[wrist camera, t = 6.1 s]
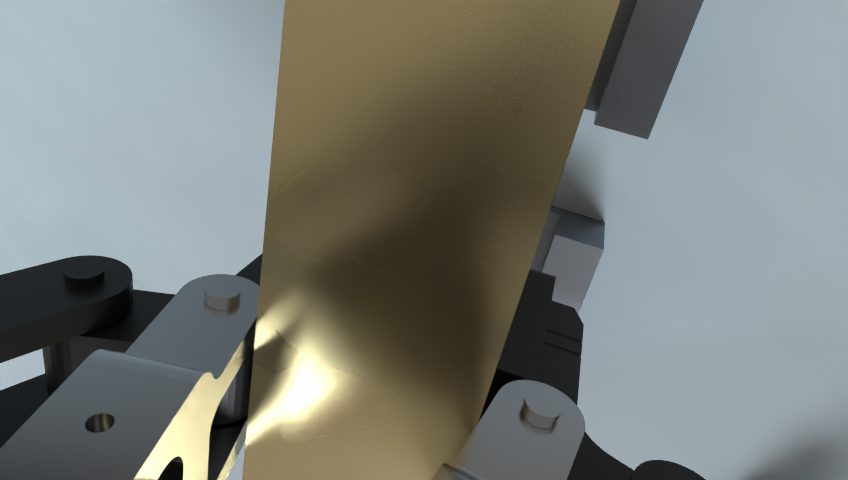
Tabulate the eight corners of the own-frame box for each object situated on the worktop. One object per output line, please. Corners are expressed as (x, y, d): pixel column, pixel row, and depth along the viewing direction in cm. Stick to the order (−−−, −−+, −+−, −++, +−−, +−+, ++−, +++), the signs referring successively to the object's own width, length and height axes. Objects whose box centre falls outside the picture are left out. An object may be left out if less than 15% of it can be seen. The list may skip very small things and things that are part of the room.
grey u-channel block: (733, -108, 17) (751, -119, 15) (549, 364, 26) (543, 401, 23) (474, -161, 19) (455, -179, 16) (378, 304, 27) (357, 334, 25)
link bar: (632, -67, 10) (657, -106, 5) (450, 487, 16) (375, 728, 11) (454, -106, 11) (301, -180, 5) (345, 445, 17) (226, 658, 12)
